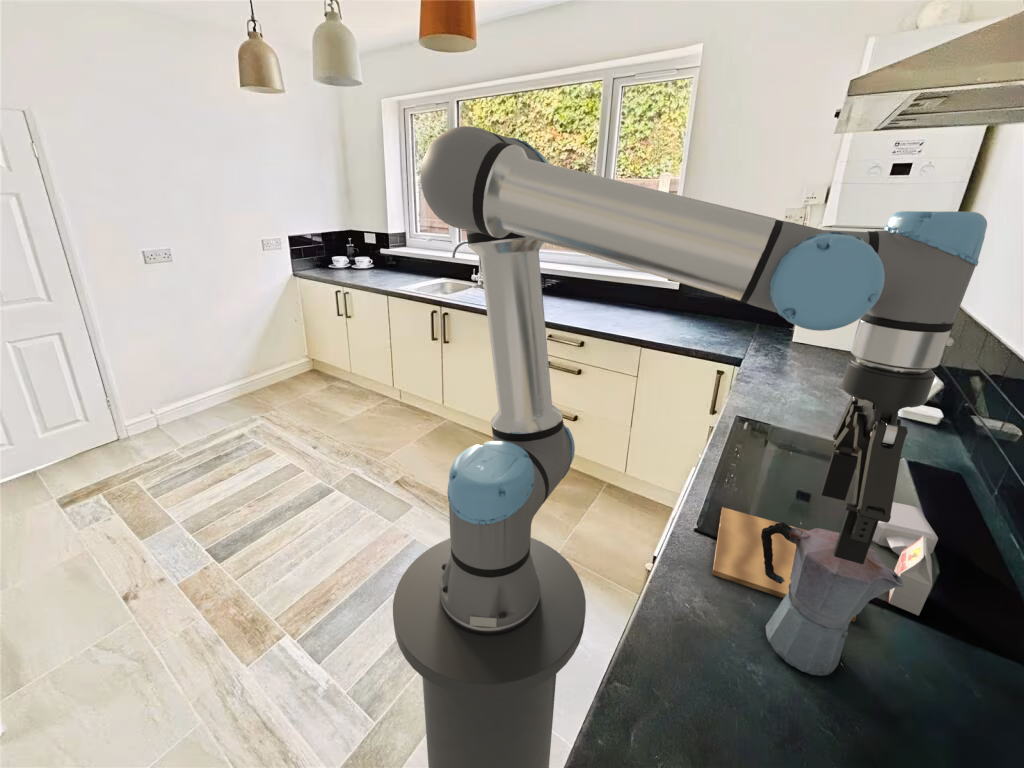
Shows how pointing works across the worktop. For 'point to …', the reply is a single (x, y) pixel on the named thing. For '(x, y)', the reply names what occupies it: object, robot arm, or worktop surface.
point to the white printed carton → (913, 577)
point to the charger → (904, 529)
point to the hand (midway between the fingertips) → (839, 524)
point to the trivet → (752, 553)
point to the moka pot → (820, 597)
